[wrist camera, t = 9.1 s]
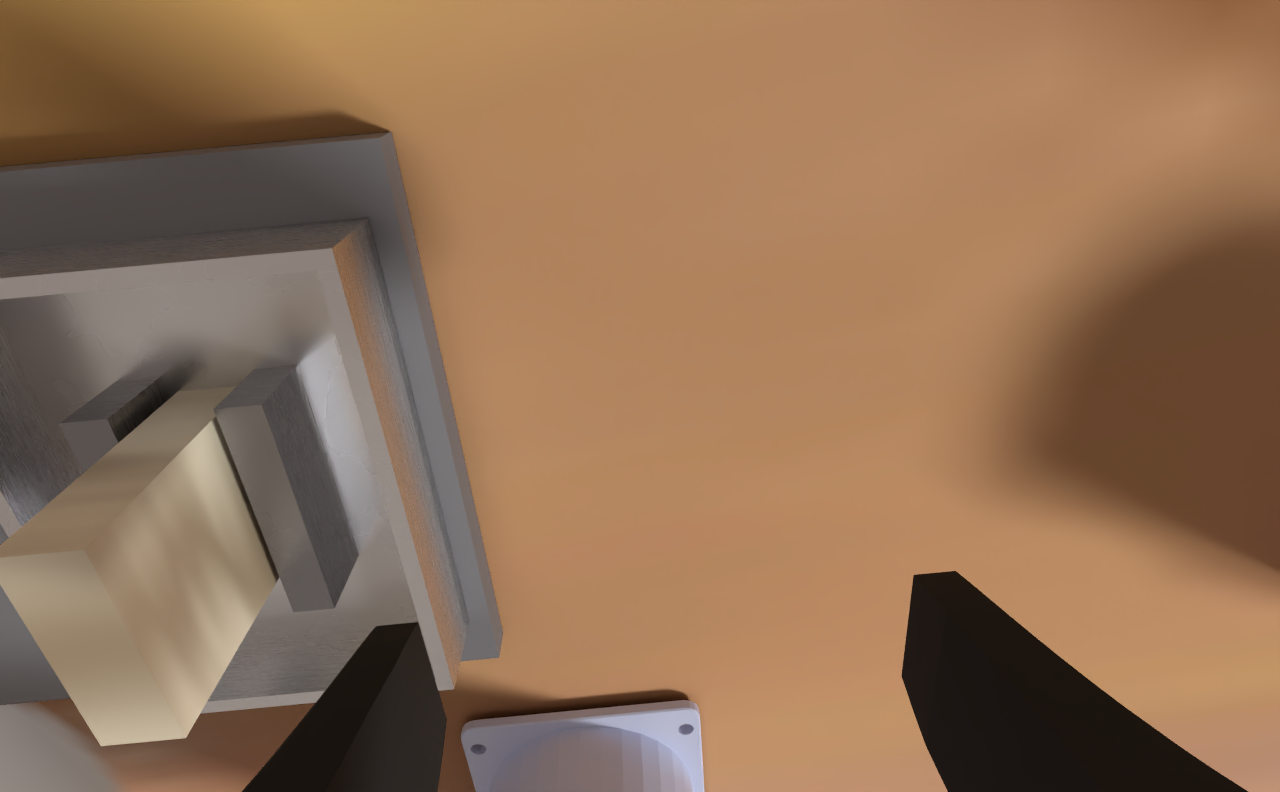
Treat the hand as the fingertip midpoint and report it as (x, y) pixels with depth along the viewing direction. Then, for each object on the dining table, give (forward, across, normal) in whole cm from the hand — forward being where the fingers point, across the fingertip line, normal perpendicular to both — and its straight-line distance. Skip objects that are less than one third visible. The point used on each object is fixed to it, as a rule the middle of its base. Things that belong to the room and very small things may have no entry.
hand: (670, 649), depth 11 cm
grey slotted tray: (+8, +10, +1) cm, 13 cm away
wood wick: (+8, +10, +1) cm, 13 cm away
